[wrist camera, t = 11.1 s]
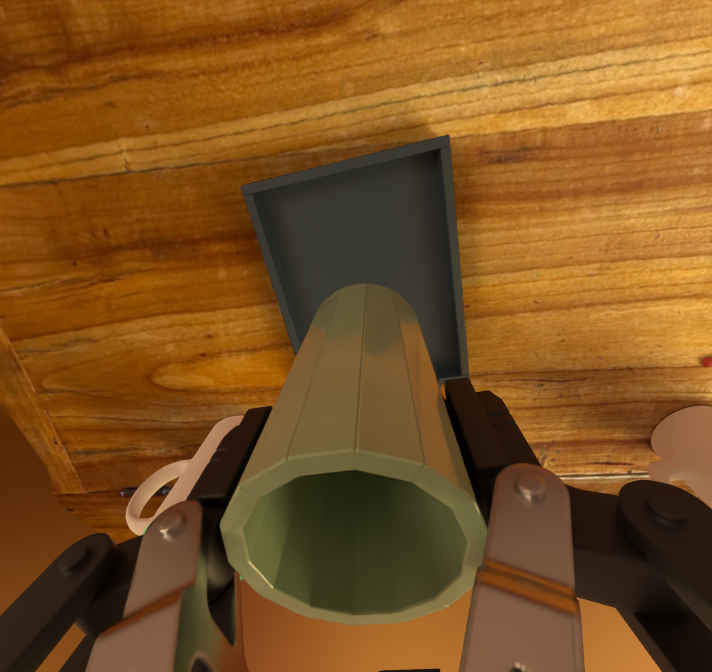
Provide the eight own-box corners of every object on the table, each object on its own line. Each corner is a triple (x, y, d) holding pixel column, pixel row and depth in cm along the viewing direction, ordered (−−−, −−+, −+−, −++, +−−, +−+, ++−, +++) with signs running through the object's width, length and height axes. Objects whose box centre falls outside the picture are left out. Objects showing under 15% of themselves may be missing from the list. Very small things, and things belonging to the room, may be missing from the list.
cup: (297, 295, 16) (174, 472, 6) (413, 272, 15) (486, 432, 5) (325, 389, 18) (267, 630, 8) (427, 373, 18) (498, 618, 8)
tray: (251, 185, 23) (239, 185, 21) (442, 138, 21) (449, 134, 19) (314, 390, 30) (310, 404, 28) (463, 367, 28) (469, 380, 26)
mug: (189, 481, 35) (121, 588, 26) (160, 422, 32) (70, 520, 23) (296, 474, 34) (266, 584, 25) (277, 412, 31) (234, 511, 21)
